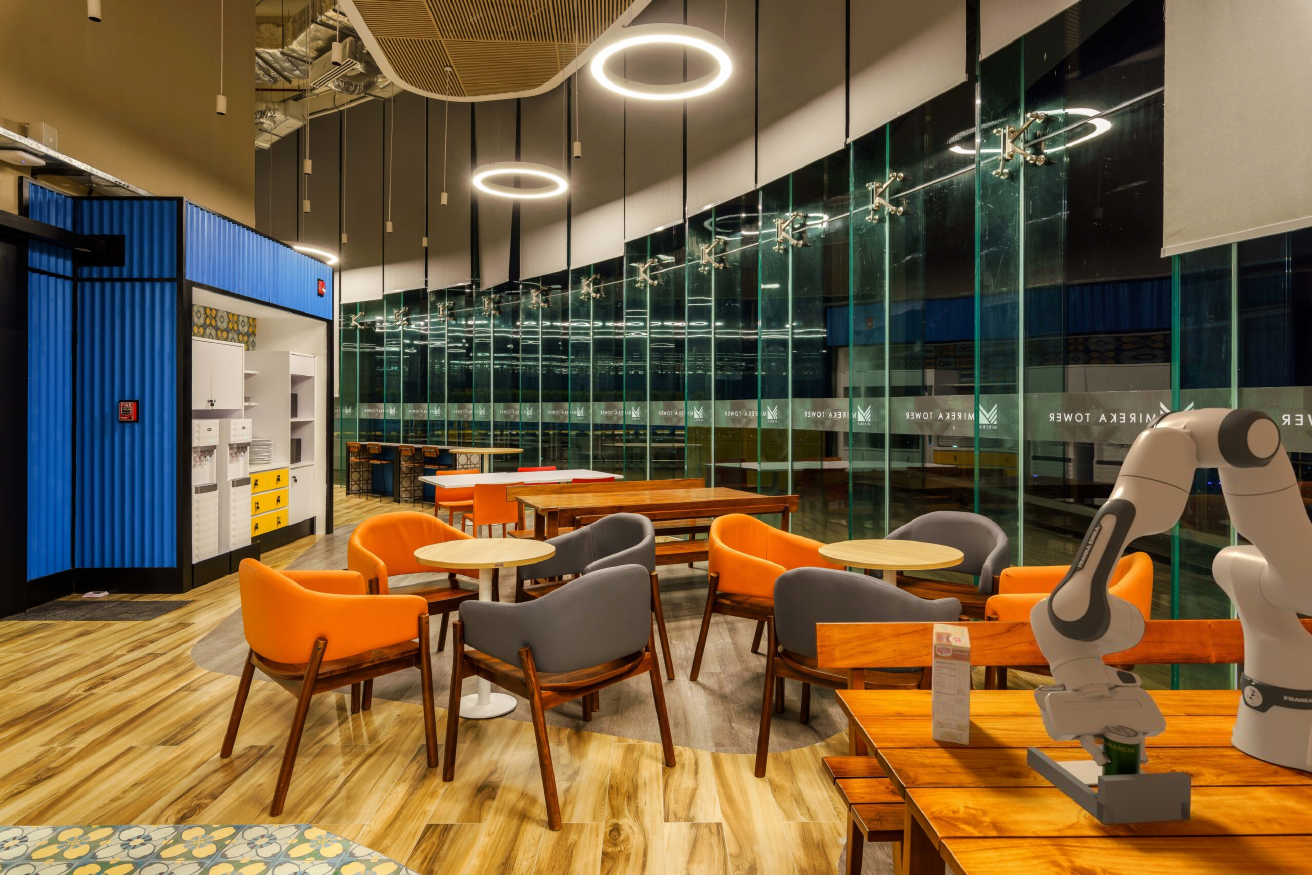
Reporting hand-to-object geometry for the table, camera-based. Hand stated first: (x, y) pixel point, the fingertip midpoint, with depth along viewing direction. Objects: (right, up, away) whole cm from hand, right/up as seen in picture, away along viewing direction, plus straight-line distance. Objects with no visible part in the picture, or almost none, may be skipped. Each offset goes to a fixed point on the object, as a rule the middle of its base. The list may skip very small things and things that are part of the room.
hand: (1124, 763), depth 120 cm
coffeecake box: (-17, -6, +29) cm, 34 cm away
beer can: (0, -7, +1) cm, 7 cm away
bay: (-1, -7, +5) cm, 8 cm away
